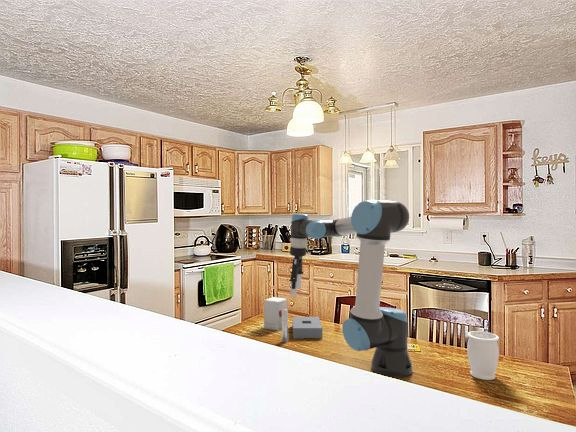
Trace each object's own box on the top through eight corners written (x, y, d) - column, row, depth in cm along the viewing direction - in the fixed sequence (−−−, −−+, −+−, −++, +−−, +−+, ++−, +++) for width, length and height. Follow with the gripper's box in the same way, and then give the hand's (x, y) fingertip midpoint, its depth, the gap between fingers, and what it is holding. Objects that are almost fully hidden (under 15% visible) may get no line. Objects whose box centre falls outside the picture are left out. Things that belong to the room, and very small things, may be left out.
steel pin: (288, 342, 174) (288, 310, 174) (281, 342, 174) (281, 310, 174) (288, 340, 177) (288, 308, 177) (281, 340, 177) (281, 308, 177)
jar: (471, 367, 145) (471, 328, 145) (501, 374, 139) (501, 334, 139) (463, 376, 137) (463, 335, 137) (495, 384, 131) (495, 341, 131)
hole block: (322, 338, 180) (322, 328, 180) (293, 338, 180) (293, 328, 180) (318, 326, 200) (318, 316, 200) (292, 326, 200) (292, 316, 200)
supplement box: (277, 331, 191) (277, 301, 191) (263, 328, 196) (263, 299, 196) (287, 326, 199) (287, 298, 199) (273, 324, 204) (273, 296, 204)
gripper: (294, 242, 188) (292, 283, 189) (285, 250, 163) (282, 298, 165) (309, 243, 186) (307, 285, 188) (302, 252, 162) (299, 299, 164)
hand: (295, 291), depth 176 cm, fingers open, 13 cm apart
